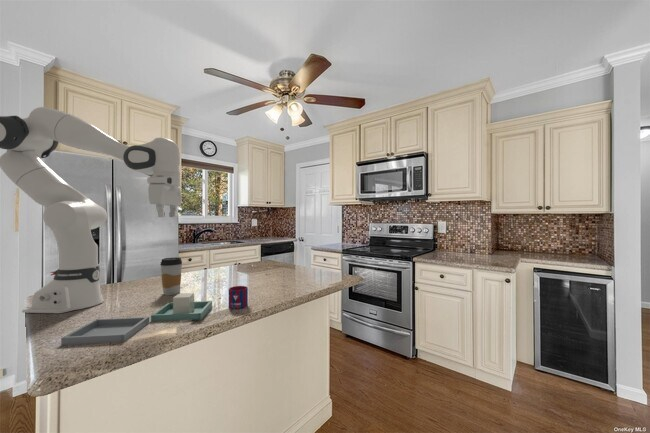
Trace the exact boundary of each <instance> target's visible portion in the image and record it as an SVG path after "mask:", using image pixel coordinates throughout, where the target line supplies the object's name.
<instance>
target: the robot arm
mask: <svg viewBox="0 0 650 433" xmlns="http://www.w3.org/2000/svg"><path fill="white" fill-rule="evenodd" d="M59 144H62V145H65V146H67V147H71V148H75V149H78V150H82V151H87V152H93V153H97V154H102V155H105V156H111V157H113V158H116V159H118V160H121V161H123V163H124V164H125V165H126V167H128V168H129V169H130V170H132V171H135V172H138V173H141V174H144V175H147V176H148V177H147V178H146V179H147V184H148V186H147V187H148V201H149V203H150V205H155V209H156V211H157V217H158V218H165V217H166V216H165V215H166V214H165V213H166V212H164V211H165V210H164V207H165V206H168V207H169V213H168V217H169V218H175V217H176V212H177V207H180V206H182V191H181V188H179V187H180V186H181V185H180V184H181V176H180V169H179V168H180V159H181V158H180V150H179V148H180V147H179V146H178V144H177V143H176V142H175V141H173V140H171V139H169V138H165V137H155V138H154V139H152V140H151V141H148V142H146V143H143V144H138V145H134V144H133V145H130V146H129V145H127V144H125V143H122V142H120V141H118V140H116V139H115V138H113V137H112V136H110V135H108V134H106V133H105V132H103V131H102V130H100V129H99V128H98V127H96V126H95V125H93V124H91V123H90V122H88V121H86V120H84V119H82V118H80V117H79V116H75V115H73V114H71V113H68V112H65V111H62V110H59V109H56V108H51V107H47V106H39V107H36V108H33V110H31V112H30V113H29V115H28V116H27V117H26V118H21V117H20V116H18V115H3V116H1V115H0V149H2V150H6V151H5V152H4V153H3V154H2V155H0V169H1V170H2V172H3V173H4V174H5V175H6V176H7V178H9V180H11V182H12V183H13V184H14V185H15V186H17V187H18V188H19V189H20V190H21V191H22V192H23V193H25V194H26V195H27V196H28V197H30V198H31V200H33V201H34V202H35V203H36V204H38V205H41V206H42V207H45V210H44V211H43V214H42V218H43V221H44V223H45V225H46V226H47V227H48V228H49V229H50V230H51V231H52V233H53V236H54V238H55V241H56V244H57V248H58V267H59V268H58V269H57V270H55V271H51V272H50V276H53V278H52V279H53V280H51V281H49V282H47V283H46V284H45V285H44V286H42V287H41V288H39V289H37V290H36V292H34V294H33V296H32V299H31V304H30V305H28V306H25V307H24V308H22V310H21V312H22V313H26V314H27V313H28V314H29V313H30V314H31V313H32V314H37V313H38V314H63V313H67V312H71V311H77V310H82V309H87V308H92V307H94V306H97V305H100V304H102V303H103V302H104V298H103V295H102V290H101V287H100V274H101V272H100V265H99V245H98V244H97V243H96V242H95V240H94V238H93V235H92V230H96V229H97V228H100V227H101V226H103V225H104V224H105V223H106V221H107V220H108V213H107V211H106V209H105V208H104V207H103V206H101V205H99V204H97V203H96V202H94V201H93V200H91V198H89V197H88V196H86V195H84V194H83V193H82V192H81V191H79V190H77V189H76V188H74V187H73V186H72V185H70V184H69V183H67V181H65V180H64V179H63V178H62V177H61V176H60V175H58V174H57V172H55V171H54V170H53V169H52V168H50V167H49V166H48V165H47V164H46V163H45V162H44V161H43V159H46V158H48V157H50V154H51V153H52V152H54V151H55V150H56V149H57V147H58V145H59Z"/></svg>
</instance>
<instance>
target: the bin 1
mask: <svg viewBox="0 0 650 433" xmlns="http://www.w3.org/2000/svg"><path fill="white" fill-rule="evenodd" d="M148 324H150V316H137V317H135V316H134V317H118V318H117V317H116V318H115V317H114V318H110V317H109V318H96V319H94V320H92V321H90V322H88V323H87V324H84V325H83V326H80V327H79V328H77V329H75V330H73V331H72V332H70V333H68V334H66V335H64V336H62V337H61V340H60V343H61V344H60V345H61V346H70V345H71V346H72V345H87V344H89V345H90V344H105V343H106V344H107V343H125V342H126V341H127V340H129V339H130V338H131V337H133V336H134V335H136V334H137V333H138V332H140V330H142V329H143V328H145V327H146V326H147V325H148Z"/></svg>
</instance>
